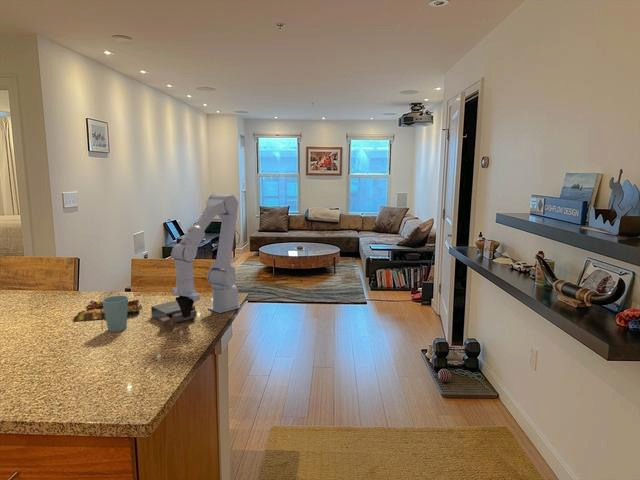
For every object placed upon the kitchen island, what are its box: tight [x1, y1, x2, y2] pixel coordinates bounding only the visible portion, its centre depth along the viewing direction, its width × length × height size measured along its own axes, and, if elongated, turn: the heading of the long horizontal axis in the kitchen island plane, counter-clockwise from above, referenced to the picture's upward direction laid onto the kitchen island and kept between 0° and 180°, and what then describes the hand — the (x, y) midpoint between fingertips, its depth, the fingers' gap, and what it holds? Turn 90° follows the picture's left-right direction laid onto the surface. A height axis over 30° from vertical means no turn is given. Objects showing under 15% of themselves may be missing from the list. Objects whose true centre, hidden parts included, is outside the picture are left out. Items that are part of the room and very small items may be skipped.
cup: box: [101, 295, 129, 333], centre depth 134 cm, size 8×8×10 cm
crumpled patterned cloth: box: [73, 299, 143, 322], centre depth 151 cm, size 22×19×4 cm
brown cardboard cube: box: [158, 317, 174, 333], centre depth 134 cm, size 3×3×4 cm
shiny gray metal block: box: [150, 300, 196, 324], centre depth 146 cm, size 11×11×4 cm
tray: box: [169, 309, 197, 324], centre depth 144 cm, size 9×10×2 cm
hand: (186, 316), depth 141 cm, fingers closed
